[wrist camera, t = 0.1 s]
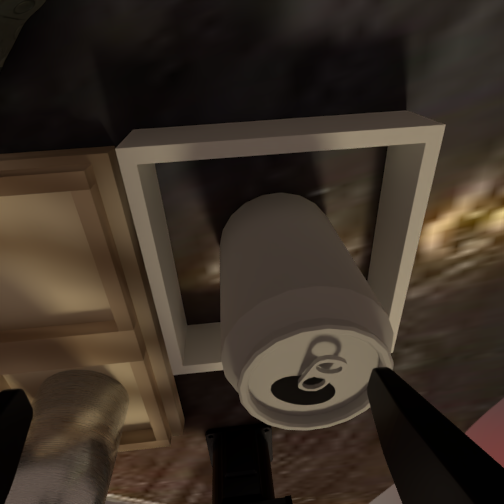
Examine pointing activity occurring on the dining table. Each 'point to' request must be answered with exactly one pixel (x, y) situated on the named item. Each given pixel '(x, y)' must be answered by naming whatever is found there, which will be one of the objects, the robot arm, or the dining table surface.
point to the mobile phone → (14, 22)
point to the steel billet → (71, 440)
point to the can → (297, 316)
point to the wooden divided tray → (80, 287)
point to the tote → (278, 142)
